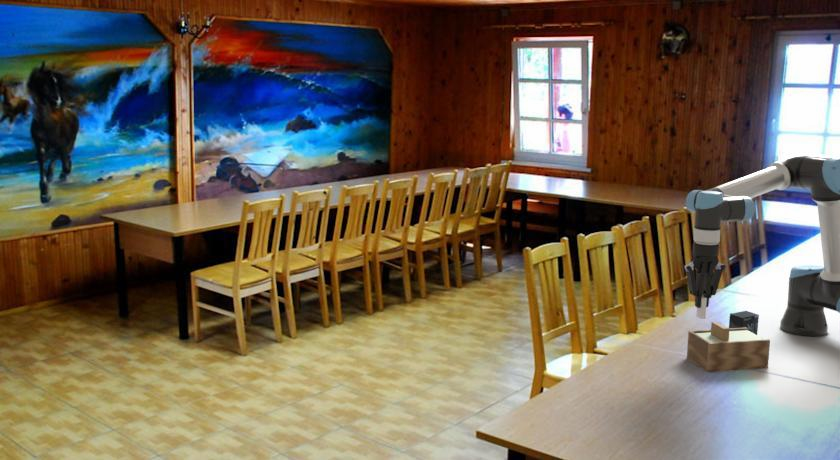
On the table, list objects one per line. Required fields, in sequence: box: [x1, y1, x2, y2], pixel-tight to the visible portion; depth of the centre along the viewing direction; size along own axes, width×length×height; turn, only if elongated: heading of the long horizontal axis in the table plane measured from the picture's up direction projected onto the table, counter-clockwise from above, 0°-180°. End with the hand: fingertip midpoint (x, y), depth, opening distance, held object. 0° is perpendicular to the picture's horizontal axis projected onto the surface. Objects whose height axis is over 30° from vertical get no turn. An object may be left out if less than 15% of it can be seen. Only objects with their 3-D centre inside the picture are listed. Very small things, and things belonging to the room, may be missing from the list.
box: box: [728, 310, 760, 335], centre depth 271 cm, size 8×6×11 cm
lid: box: [695, 321, 765, 343], centre depth 252 cm, size 19×11×5 cm, turn 100°
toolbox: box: [686, 327, 771, 373], centre depth 253 cm, size 20×13×9 cm, turn 100°
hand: (700, 317), depth 249 cm, fingers closed
